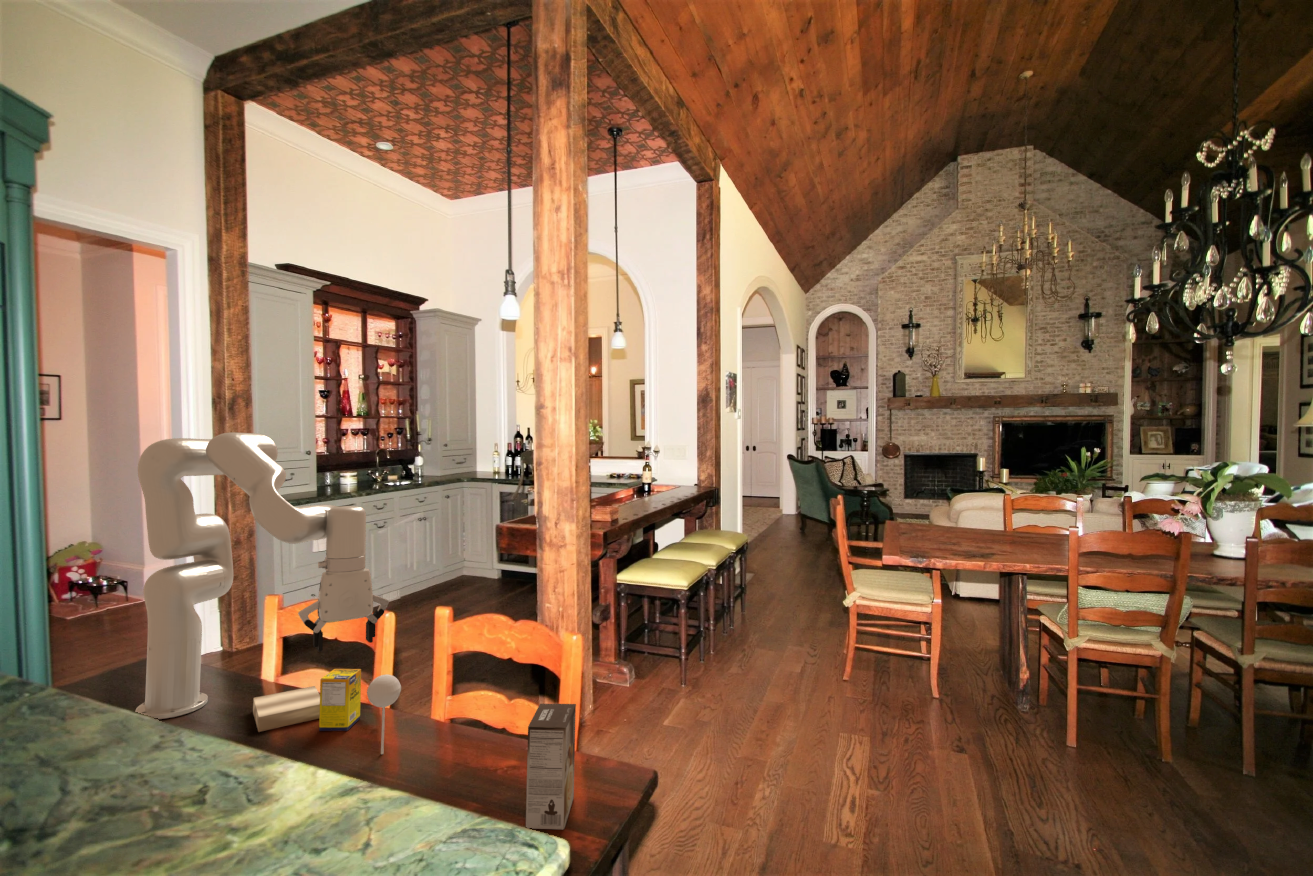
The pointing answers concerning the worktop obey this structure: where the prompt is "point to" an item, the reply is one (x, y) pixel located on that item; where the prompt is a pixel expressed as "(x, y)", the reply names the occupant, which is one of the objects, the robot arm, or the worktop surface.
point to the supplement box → (340, 699)
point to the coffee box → (550, 766)
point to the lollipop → (383, 696)
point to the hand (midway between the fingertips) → (344, 645)
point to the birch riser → (286, 708)
